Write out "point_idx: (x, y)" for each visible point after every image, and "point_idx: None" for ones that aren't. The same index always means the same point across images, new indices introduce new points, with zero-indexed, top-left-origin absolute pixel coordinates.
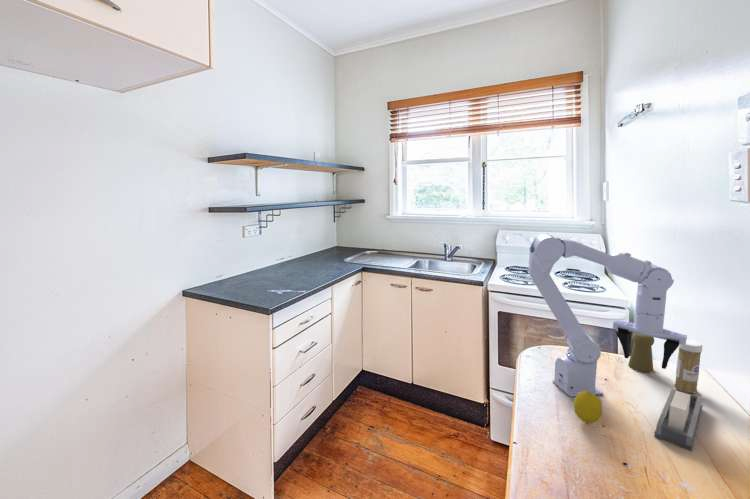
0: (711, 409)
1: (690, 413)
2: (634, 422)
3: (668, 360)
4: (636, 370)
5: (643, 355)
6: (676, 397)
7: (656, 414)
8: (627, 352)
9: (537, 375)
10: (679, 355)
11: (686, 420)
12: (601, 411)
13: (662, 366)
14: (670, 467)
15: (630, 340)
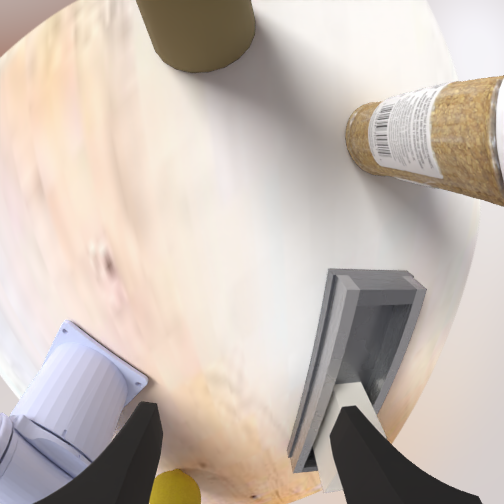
0: (427, 251)
1: (373, 352)
2: (248, 436)
3: (375, 432)
4: (189, 71)
5: (202, 27)
6: None
7: (290, 386)
8: (155, 469)
9: (10, 362)
10: (455, 162)
11: None
12: (200, 502)
13: (334, 445)
14: (306, 479)
15: (122, 489)
